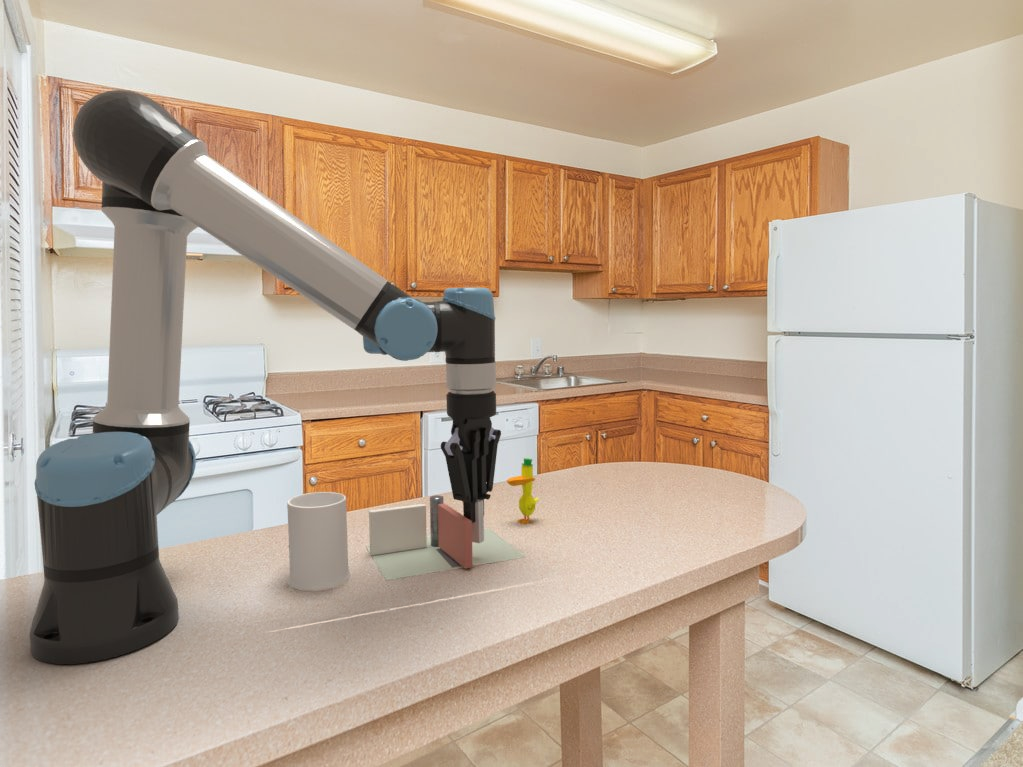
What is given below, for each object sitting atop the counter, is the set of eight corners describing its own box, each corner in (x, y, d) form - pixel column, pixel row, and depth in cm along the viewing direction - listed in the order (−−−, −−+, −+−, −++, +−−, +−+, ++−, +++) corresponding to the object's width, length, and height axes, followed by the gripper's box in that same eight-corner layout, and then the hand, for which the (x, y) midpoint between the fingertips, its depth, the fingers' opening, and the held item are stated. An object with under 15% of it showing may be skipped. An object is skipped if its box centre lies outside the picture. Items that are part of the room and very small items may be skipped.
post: (432, 547, 105) (432, 499, 105) (429, 543, 107) (428, 496, 107) (445, 545, 106) (445, 498, 105) (441, 541, 108) (441, 494, 107)
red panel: (438, 546, 105) (437, 504, 104) (445, 545, 105) (444, 503, 105) (465, 568, 96) (464, 522, 95) (472, 567, 96) (472, 521, 95)
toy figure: (513, 529, 115) (512, 463, 114) (502, 523, 118) (502, 459, 117) (544, 522, 119) (544, 458, 118) (533, 517, 122) (533, 455, 121)
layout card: (386, 582, 92) (386, 579, 92) (365, 548, 106) (365, 546, 106) (525, 558, 101) (525, 556, 101) (490, 530, 115) (490, 528, 115)
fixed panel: (371, 555, 102) (370, 512, 101) (369, 553, 103) (368, 510, 102) (426, 547, 106) (425, 505, 105) (424, 545, 107) (423, 503, 106)
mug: (273, 571, 97) (270, 492, 95) (328, 558, 102) (326, 483, 101) (300, 598, 87) (297, 511, 86) (359, 582, 93) (357, 500, 91)
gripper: (475, 384, 105) (478, 524, 108) (424, 394, 94) (429, 549, 97) (514, 386, 101) (516, 532, 104) (466, 397, 90) (470, 559, 93)
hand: (474, 540), depth 101 cm, fingers closed
